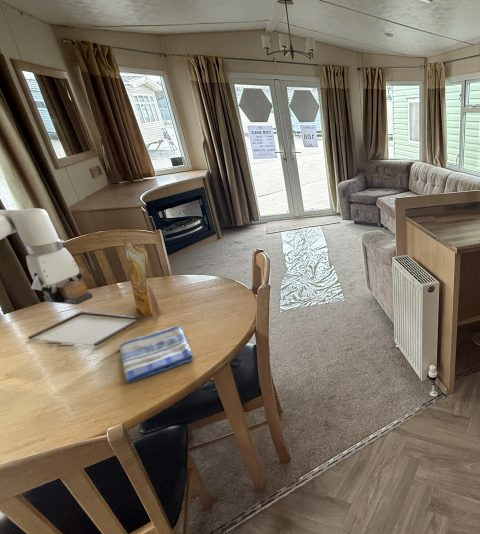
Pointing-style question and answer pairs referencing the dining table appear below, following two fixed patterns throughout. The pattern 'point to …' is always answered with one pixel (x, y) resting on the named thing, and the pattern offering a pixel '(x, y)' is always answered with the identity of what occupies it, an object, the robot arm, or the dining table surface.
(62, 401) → the dining table surface
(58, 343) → the stroke
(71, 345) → the stroke
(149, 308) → the pancake mix bag
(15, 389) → the dining table surface
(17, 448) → the dining table surface
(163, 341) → the dish towel
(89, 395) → the dining table surface
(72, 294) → the eraser
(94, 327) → the memo board
